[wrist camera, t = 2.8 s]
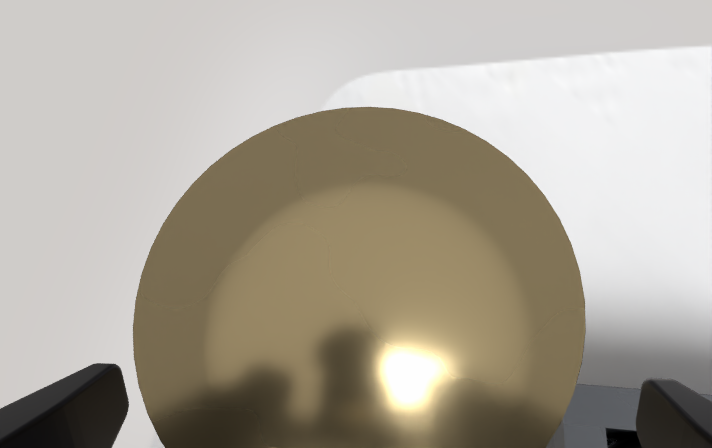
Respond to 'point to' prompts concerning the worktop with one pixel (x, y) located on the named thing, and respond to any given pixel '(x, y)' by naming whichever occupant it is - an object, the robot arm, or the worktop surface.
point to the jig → (600, 418)
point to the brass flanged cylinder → (360, 294)
